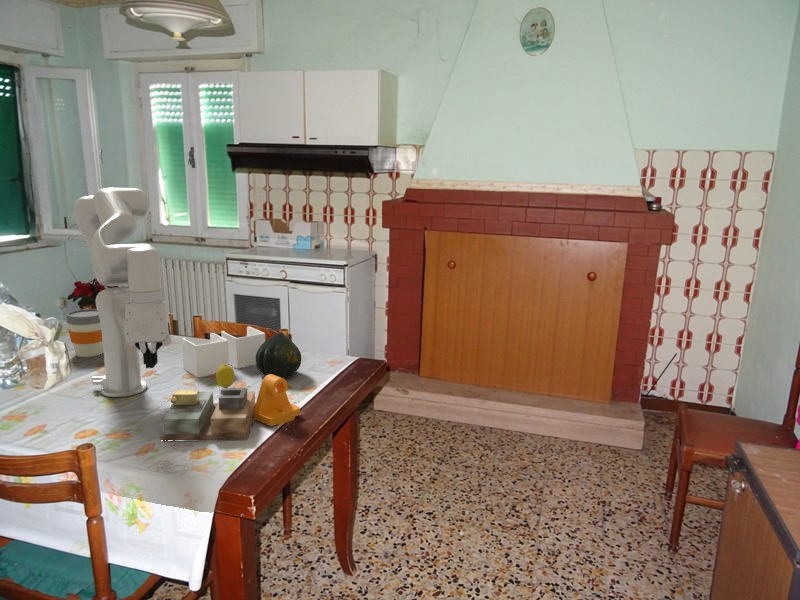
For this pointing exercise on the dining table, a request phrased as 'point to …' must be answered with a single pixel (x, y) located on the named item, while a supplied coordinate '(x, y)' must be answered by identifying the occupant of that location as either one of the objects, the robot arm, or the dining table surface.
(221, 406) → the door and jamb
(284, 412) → the bracket
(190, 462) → the dining table surface
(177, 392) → the brass bolt
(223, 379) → the lemon
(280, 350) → the squash
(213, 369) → the storage container
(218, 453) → the dining table surface
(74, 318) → the reusable coffee cup
